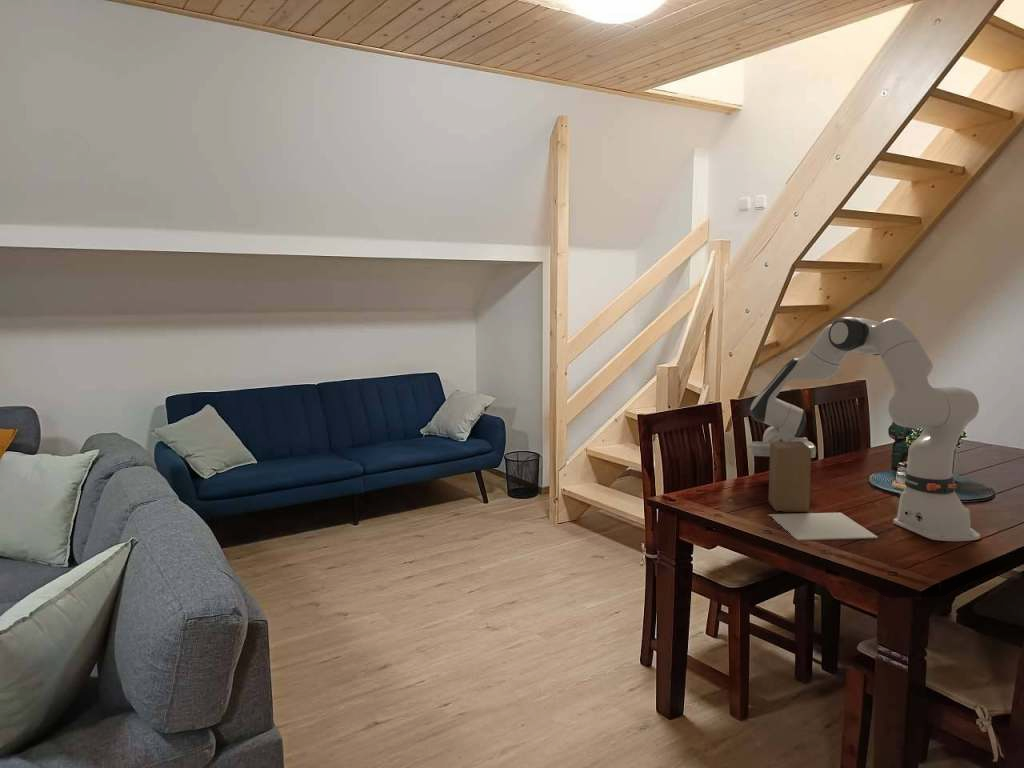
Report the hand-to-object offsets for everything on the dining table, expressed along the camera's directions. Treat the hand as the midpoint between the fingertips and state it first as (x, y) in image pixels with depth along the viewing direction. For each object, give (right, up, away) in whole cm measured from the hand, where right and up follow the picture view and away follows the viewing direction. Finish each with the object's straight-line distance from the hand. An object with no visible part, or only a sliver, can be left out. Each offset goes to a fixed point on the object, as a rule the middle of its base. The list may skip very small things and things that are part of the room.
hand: (785, 455), depth 234 cm
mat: (0, -18, -26) cm, 31 cm away
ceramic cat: (+59, -9, +31) cm, 67 cm away
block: (-2, -16, -9) cm, 18 cm away
